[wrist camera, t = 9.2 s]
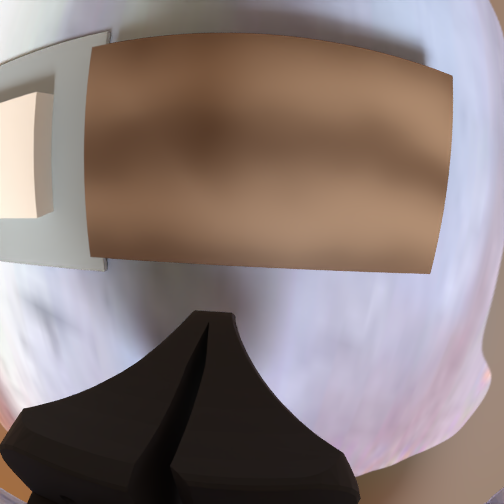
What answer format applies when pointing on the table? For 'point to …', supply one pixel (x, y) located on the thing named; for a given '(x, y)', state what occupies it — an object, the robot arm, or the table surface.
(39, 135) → the tile
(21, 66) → the mat
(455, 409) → the table surface
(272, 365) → the table surface
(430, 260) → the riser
